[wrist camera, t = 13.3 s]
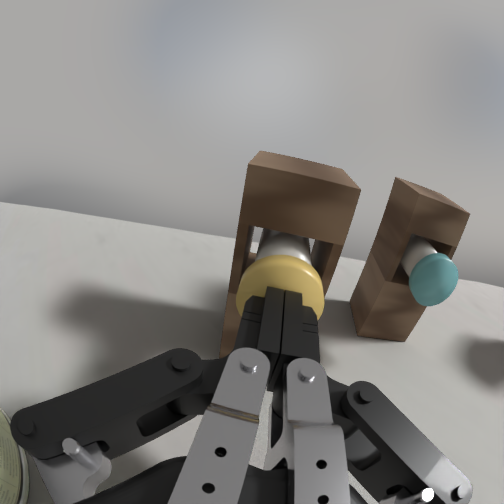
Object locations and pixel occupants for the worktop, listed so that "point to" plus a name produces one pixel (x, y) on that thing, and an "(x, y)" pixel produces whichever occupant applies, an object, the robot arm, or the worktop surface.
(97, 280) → the worktop surface
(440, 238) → the walnut box
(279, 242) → the ochre button
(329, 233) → the walnut box
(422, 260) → the teal button
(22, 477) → the coffee can
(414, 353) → the worktop surface
